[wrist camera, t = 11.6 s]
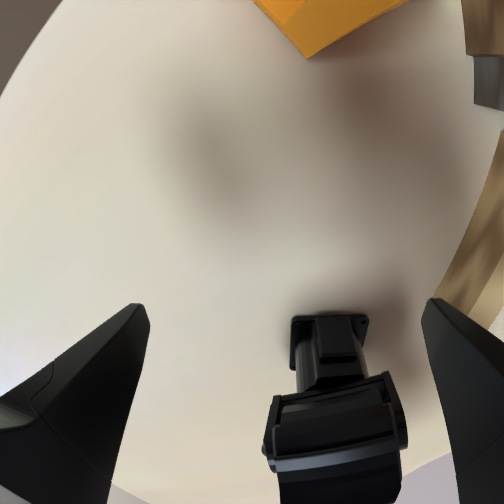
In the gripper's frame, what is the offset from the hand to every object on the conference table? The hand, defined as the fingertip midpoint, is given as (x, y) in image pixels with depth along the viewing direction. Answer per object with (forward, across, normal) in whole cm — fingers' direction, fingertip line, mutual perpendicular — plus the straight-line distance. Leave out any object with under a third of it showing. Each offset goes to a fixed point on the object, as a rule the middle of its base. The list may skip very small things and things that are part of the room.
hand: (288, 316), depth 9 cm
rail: (+12, -17, +1) cm, 21 cm away
